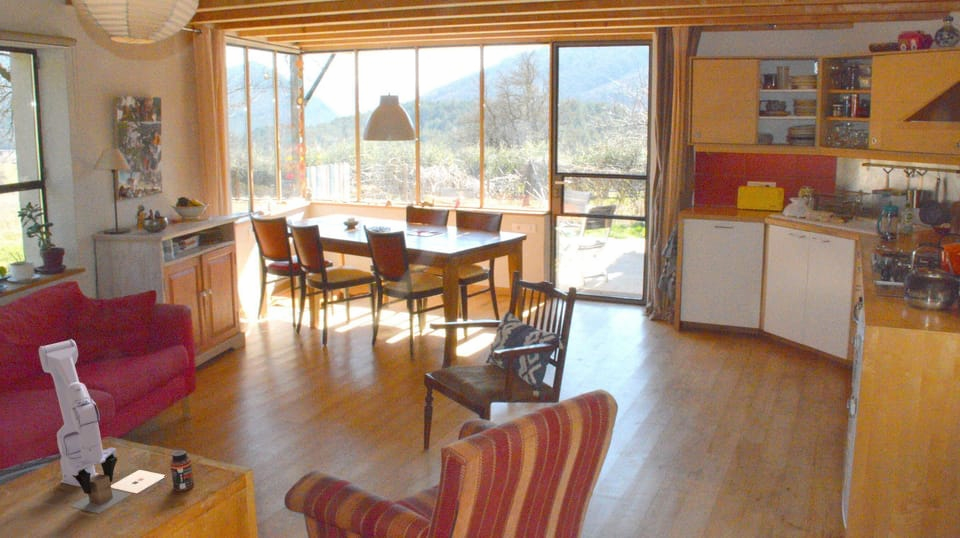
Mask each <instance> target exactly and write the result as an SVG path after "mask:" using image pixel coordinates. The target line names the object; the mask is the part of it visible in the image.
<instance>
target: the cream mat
mask: <svg viewBox="0 0 960 538" xmlns="http://www.w3.org/2000/svg"><path fill="white" fill-rule="evenodd" d="M165 475H166V474H163V473H157V472H153V471H147V470H143V469H138V470H136V471H135V472H133V473H131V474H130V475H127V476H125V477H123V478H121V479H120V480H118V481H117V482H115V483H113V484H111V489H114V490H121V491H123V492H124V491H125V492H130V493H133V494H134V493H135V494H138V493H141V492H142V491H143V490H145V489H147V488H149V487H150V486H152V485H154V484H155V483H157V482H159V481H161V480H162V479H163V478H164V479H165V477H164V476H165Z"/></svg>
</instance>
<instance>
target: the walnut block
mask: <svg viewBox="0 0 960 538" xmlns="http://www.w3.org/2000/svg"><path fill="white" fill-rule="evenodd" d="M111 485H112V484H111V482H110V479H109V476H107V475H104V474H102V473H98V474H97V475H95V476H93V477H91V478H90V486H91V493H90V494H87V496H89V502H90V503H94V504H98V505H101V504H103V503H105V502H107V501H108V500H110V499H112V498H113V495H112V490H113V489H112V488H111ZM111 489H112V490H111Z"/></svg>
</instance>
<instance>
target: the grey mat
mask: <svg viewBox="0 0 960 538" xmlns="http://www.w3.org/2000/svg"><path fill="white" fill-rule="evenodd" d="M111 490H112V495H113V498H112V499H110V500H108V501H107V502H105V503H103V504H101V505H98V504H94V503H90V502H89V496H88V495H87V496H86V497H84V498H82V499H80V500H78V501H76V502H75V503H73V504H71V505H70V506H69V507H70V508H74V509H78V510H83V511H85V512H89V513H93V514H97V515H99V514H100V513H103V512H104V511H106V510H108V509H110V508H111V507H113V506H114V505H116V504H117V503H120V502H121V501H123V500H125V499H126V498H128V497H130V496H132V493H128V492H126V491H125V492H124V491H122V490H121V491H119V490H117V489H113V488H111Z"/></svg>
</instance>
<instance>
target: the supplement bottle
mask: <svg viewBox="0 0 960 538" xmlns="http://www.w3.org/2000/svg"><path fill="white" fill-rule="evenodd" d="M171 455H172V459H171V460H170V463H169V465H170V473H171V480H172V487H173V489H174V491H176V492H188V491H189V490H191V489H192V488H194V486H195V478H194V474H193V466H192V465H193V464H192V460H191V458H190V456H188V454H187V451H186V450H184V449H183V450H182V449H180V450H175V451H173V452H172V454H171Z"/></svg>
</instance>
